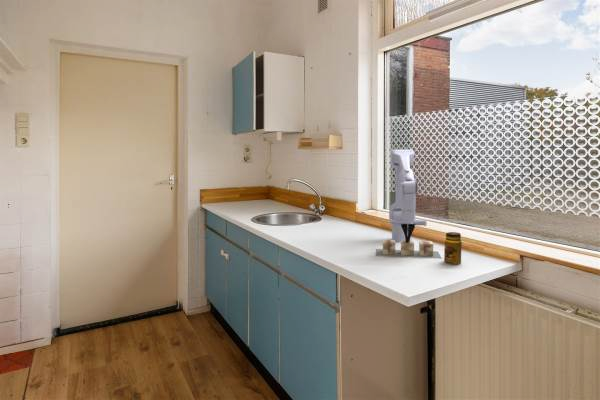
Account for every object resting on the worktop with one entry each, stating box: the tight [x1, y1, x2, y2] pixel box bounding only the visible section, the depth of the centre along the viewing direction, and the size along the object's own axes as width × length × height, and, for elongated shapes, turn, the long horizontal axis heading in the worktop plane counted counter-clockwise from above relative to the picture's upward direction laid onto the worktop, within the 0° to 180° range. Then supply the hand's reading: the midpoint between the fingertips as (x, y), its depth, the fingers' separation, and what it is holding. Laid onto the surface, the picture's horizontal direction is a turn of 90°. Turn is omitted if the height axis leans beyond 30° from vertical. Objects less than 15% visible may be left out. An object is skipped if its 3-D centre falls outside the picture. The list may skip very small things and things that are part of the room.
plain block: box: [400, 240, 415, 255], centre depth 161 cm, size 5×5×5 cm
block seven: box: [418, 240, 434, 256], centre depth 159 cm, size 5×5×5 cm
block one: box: [382, 239, 396, 255], centre depth 162 cm, size 5×5×5 cm
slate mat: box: [375, 248, 443, 259], centre depth 161 cm, size 26×11×1 cm, turn 79°
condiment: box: [443, 231, 463, 266], centre depth 148 cm, size 7×8×12 cm
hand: (407, 242), depth 161 cm, fingers closed, pressing on plain block
